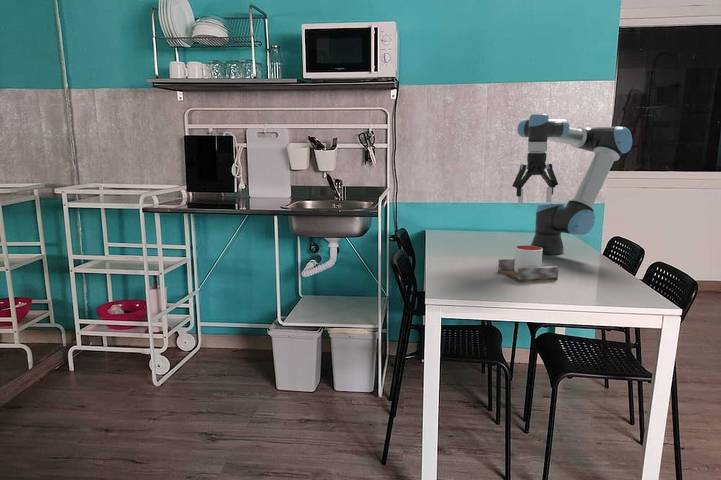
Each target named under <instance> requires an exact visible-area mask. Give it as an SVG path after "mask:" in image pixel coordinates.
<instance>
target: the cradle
mask: <svg viewBox="0 0 721 480" xmlns="http://www.w3.org/2000/svg"><path fill="white" fill-rule="evenodd" d="M514 263H515V258H500V259H498V264H497V265H498V266H497V272H499V273H500V274H502V275H505V276H507V277H509V278H510V279H513V280H514V281H516V282H519V283H524V282H525V283H526V282H528V283H529V282H543V281H544V282H547V281H558V278H559V266H557V265H553V266H551V265H549V266H541V267H529V268H518V273H516V272H515V270H514Z"/></svg>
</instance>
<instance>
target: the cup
mask: <svg viewBox="0 0 721 480" xmlns="http://www.w3.org/2000/svg"><path fill="white" fill-rule="evenodd" d="M514 251H515V252H514V259H515V263H514V270H515V272H516V273H518V268H529V267H542V264H543V263H542V262H543V261H542V260H543V254H542V251H543V249H542V248H540V247H537V246H530V245H516V246H515V250H514Z"/></svg>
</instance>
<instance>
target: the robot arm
mask: <svg viewBox="0 0 721 480" xmlns="http://www.w3.org/2000/svg"><path fill="white" fill-rule="evenodd" d="M517 134H518V136H520V137H521V138H526V139H528V140H527V157H526V158H527V159H526V161H527V164H523V163H522V164H520V166H519V170H518V173H517V175H516V177H515V178H514V181H513V183H512V187H513V188H514V189H516V197H517V205H521V206H522V205H523V204H524V188H523V187H524V186H525V184H526V183H527V182H528V181H529V179H530V178H531V177H532V176H541V177H542V179H543V180H544V181H545V184H546V185H547V187H546V193H545V195H546V196H545V203H539V204H538V205H537V206H536V212H535V225H534V226H535V229H534V235H533V236H534V237H533V239H532V241H531V243H530V245H529V246H537V247H540V248H542V249H543V251H542V255H562V254H564V249H565V247H564V244H563V240H562V233H563V234H567V235H572V236H584V235H587V234H588V233H589V232H591V230H592V229H593V228H594V226H595V224H596V223H595V222H596V221H595V220H596V216H595V212H594V211H595V210H594V207H593V206H594V204H595V202H596V199H597V197H598V195H599V193H600V192H601V189H602V187H603V185H604V183H605V181H606V179H607V177H608V174H609V173H610V171H611V168H612V166H613V164H614V162H616V161H619V159H620V158H621V156H622V154H627V153H629V152H630V151H631V149H632V146H633V136H632V133H631V130H629V128H627V127H626V126H618V125H617V126H593V127H582V126H578V127H570V123H569V122H568V121H567V119H564V118H549V114H547V113H534V114H530V116H529V118H528V119H523V120H522V121H520V122H519V123H518V125H517ZM548 141H550V142H556V143H560V144H561V143H562V144H566V145H570V146H571V147H573V148H576V149H580V150H585V151H589V152H593V153H594V157H593V158H592V159H591V160H592V161H591V162H590V164H589V166H588V168H587V171H586V173H585V175H584V177H583V179H582V181H581V183H580V184H579V187H578V189H577V191H576V193H575V196H574V197H573V199H570V200H568V201H567V204H566V205H564V203H563V202H552V199H553V198H552V195H554V188H556V186H558V185H559V183H558V180H557V177H556V174H555V173H554V169H553V164H552V163H546V162H547V153H546V152H547V151H548ZM546 171H547V172H546Z"/></svg>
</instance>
